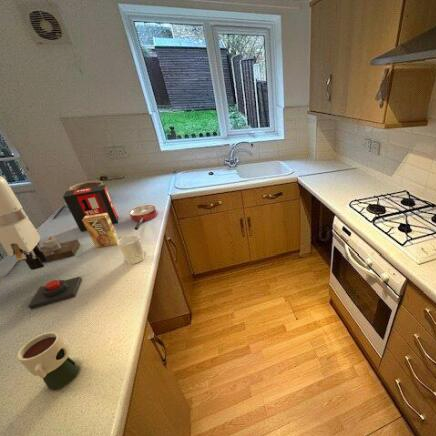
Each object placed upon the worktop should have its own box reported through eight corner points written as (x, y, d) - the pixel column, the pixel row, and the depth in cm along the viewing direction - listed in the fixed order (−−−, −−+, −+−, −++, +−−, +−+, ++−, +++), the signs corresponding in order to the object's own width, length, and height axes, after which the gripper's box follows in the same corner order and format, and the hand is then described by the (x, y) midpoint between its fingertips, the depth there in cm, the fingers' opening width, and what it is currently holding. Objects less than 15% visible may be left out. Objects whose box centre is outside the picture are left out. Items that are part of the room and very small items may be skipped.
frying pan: (160, 233, 122) (156, 222, 119) (130, 240, 117) (126, 229, 114) (156, 210, 147) (153, 200, 144) (132, 215, 142) (128, 205, 139)
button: (45, 292, 83) (43, 288, 82) (49, 285, 86) (47, 281, 85) (59, 288, 84) (56, 285, 84) (62, 282, 87) (60, 278, 86)
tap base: (33, 265, 101) (29, 259, 100) (42, 252, 109) (38, 247, 108) (74, 255, 107) (71, 250, 105) (80, 244, 115) (77, 239, 113)
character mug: (79, 388, 58) (53, 356, 52) (40, 407, 55) (8, 375, 49) (84, 352, 66) (62, 321, 60) (51, 367, 63) (24, 334, 57)
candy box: (119, 240, 118) (107, 212, 110) (117, 244, 114) (105, 216, 107) (98, 243, 115) (84, 215, 108) (95, 248, 112) (81, 219, 104)
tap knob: (59, 249, 106) (54, 239, 103) (47, 252, 104) (40, 242, 101) (62, 245, 109) (57, 235, 107) (50, 247, 107) (44, 237, 105)
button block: (31, 309, 80) (25, 302, 79) (42, 290, 88) (37, 283, 87) (75, 297, 85) (70, 289, 83) (82, 279, 93) (78, 272, 91)
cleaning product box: (117, 217, 140) (104, 184, 130) (118, 223, 133) (104, 189, 124) (82, 225, 132) (65, 191, 122) (81, 232, 125) (63, 196, 116)
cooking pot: (83, 198, 167) (76, 181, 161) (115, 193, 173) (108, 177, 167) (69, 212, 146) (59, 194, 140) (105, 207, 152) (97, 189, 146)
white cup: (150, 256, 105) (143, 237, 100) (132, 267, 99) (123, 247, 94) (139, 251, 109) (132, 233, 104) (121, 261, 103) (113, 241, 98)
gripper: (5, 209, 77) (35, 255, 85) (-26, 232, 64) (13, 284, 73) (35, 204, 80) (61, 249, 88) (12, 225, 67) (45, 276, 75)
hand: (39, 264), depth 80 cm, fingers closed
